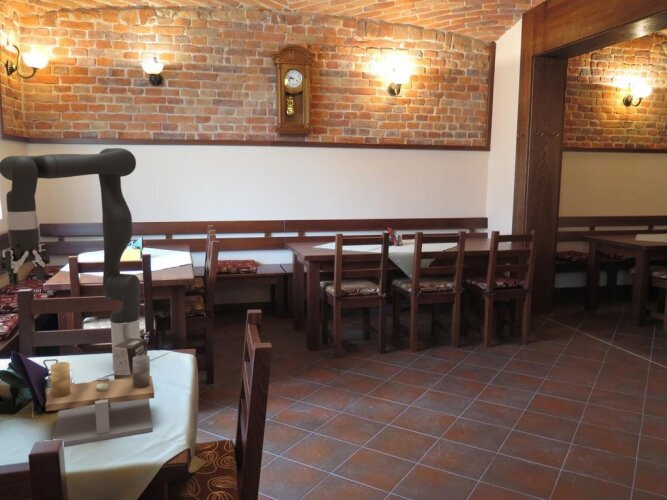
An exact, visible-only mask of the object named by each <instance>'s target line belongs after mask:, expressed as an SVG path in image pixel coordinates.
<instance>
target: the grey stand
mask: <svg viewBox="0 0 667 500" xmlns="http://www.w3.org/2000/svg"><path fill="white" fill-rule="evenodd" d="M96 380H97V381H102V380H105V381H107V380H110V376H104V377H98V378H97V379H96ZM97 381H96V382H97ZM150 405H151V404H150V399H142V400H134V401H126V402H117V403H109V404H108V399H106V400H99V401H95V405H92V406H84V407H75V408H68V409H61V410H58V412H57V417H56V422H55V425H54V430H53V433H52V434H53V435H52V438H51V440H52V439H63V441H64V447H67V446H75V445H79V444H86V443H92V442H98V441H106V440H109V439H117V438H122V437H123V438H124V437H128V436H135V435H141V434H146V433H152V432H153V423H152V413H151V406H150Z"/></svg>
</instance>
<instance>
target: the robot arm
mask: <svg viewBox="0 0 667 500" xmlns="http://www.w3.org/2000/svg"><path fill="white" fill-rule="evenodd" d="M136 166H137V160H136V157H135V155H134V153H132V152H131V151H130V150H129V149H127V148H119V147H115V148H113V147H112V148H111V147H109V148H104V149H102V150H101V151H100V152H99V153H92V154H91V153H86V154H84V153H81V154H80V153H79V154H77V153H55V154H54V153H52V154H42V155H41V154H40V155H9V156H5V157H4V158H3V159H1V161H0V175H1V176H2V177H3V178H4V179H6V180H9V181H11V189H10V190H9V191H8V192H7V193H6V210H7V211H6V212H7V217H6V222H7V223H6V224H7V233H8V234H7V235H8V242H9V244H10V249H8V250H5V249H2V250H0V270H1V272H5V273H8V280H9V281H8V282H9V284H10V286H12V287H17V286H19V285H20V283H19V282H20V281H19V274H18V271H19V269H20V267H22V266H23V264H25V263H29V262H32V263H33V264H34V265H35V266H36V267H35V268H34V269H35V278H36V280H38V281H43V280H44V279H45V276H46V274H45V266H46V265H49V264H51V260H50V259H51V258H50V252H49V245H48V244H46V243H40V232H39V219H38V214H37V205H36V203H37V202H36V197H35V196H36V191H37V186H38V185H37V184H38V180H39V179H47V180H48V179H49V180H51V179H63V178H72V177H80V176H82V177H83V176H88V175H89V176H90V175H91V176H92V175H98V181H99V187H100V195H101V197H100V198H101V210H102V211H101V213H102V215H101V217H102V218H101V219H102V220H101V221H102V222H101V224H102V235H103V236H102V237H103V273H102V292H103V294H104V297H105V298H106V299H107V300H110V301H119V302H122V306H121V308H118V309H115V310H112V312H110V315H109V317H110V319H109V320H110V332H111V348H112V349H111V351H112V356H113V347H114V346H116V345H118V344H119V343H121V342H123V341H125V340H127V339H129V338H134V339H135V338H137V339H143V338H142V337H141V329H140V328H141V327H140V311H141V283H140V279H139V277H138V276H137V275H136V274H133V273H132V274H130V273H121V270H120V269H121V259H122V257H123V254H124V252H125V251H126V249H127V248H128V246H129V244H130V242H131V240H132V237H133V217H132V213H131V211H130V208H129V206H128V203H127V202H126V199H125V197H124V195H123V191H122V181H121V180H122V179H121V178H122V177H127V176H129V175H130V174H132V173H133V172H134V171H135V170H136ZM112 369H113V370H114V359H113V358H112Z"/></svg>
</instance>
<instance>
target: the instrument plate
mask: <svg viewBox="0 0 667 500" xmlns="http://www.w3.org/2000/svg"><path fill="white" fill-rule="evenodd" d="M150 362H151V361H150V356H149V355H148V354H147V355H138V356H135V357H133V378H126V379H117V380H114V379H109V380H107V381H105V380H102V381H89V382H78V383H71V371H70V370H71V369H70V366H71V365H70V362H68V361H67V362H66V361H60V362H59V361H58V362H54V363H52V364H51V365H50V383H51V386H50V388H49V393H48V395H47V399H46V402H45V412H48V411H56V410H58V411H59V410H68V409H75V408H82V407H89V406H95V401H99V400H106V399H108V404H109V403H117V402H126V401H134V400H142V399H149V400H150V399H155V388H154V382H153V376H152V375H151V370H150V369H151V368H150V367H151V365H150V364H151V363H150Z"/></svg>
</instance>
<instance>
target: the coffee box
mask: <svg viewBox="0 0 667 500" xmlns="http://www.w3.org/2000/svg"><path fill="white" fill-rule="evenodd" d="M147 341H148V340H147V339H146V338H142V339H137V338H135V339H134V338H129V339H127V340H125V341H123V342H121V343H119V344H118V345H116V346H114V347H113V355H112V360H113V359H114V369H113V374H114V375H113V377H114V379H113V380H117V379H126V378H133V357H135V356H138V355H148V344H147V343H148V342H147Z"/></svg>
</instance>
